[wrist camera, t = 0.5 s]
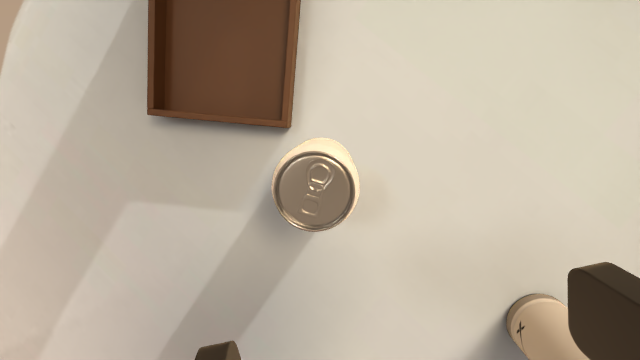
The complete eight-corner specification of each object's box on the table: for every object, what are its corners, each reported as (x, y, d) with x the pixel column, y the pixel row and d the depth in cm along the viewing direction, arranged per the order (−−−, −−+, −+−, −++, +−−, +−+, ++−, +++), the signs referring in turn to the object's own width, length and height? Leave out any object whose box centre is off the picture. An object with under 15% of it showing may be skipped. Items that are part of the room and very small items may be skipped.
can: (361, 147, 35) (374, 160, 24) (342, 208, 36) (345, 249, 25) (299, 129, 35) (281, 132, 23) (282, 190, 36) (256, 222, 25)
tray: (164, -60, 33) (149, -77, 30) (304, -49, 33) (301, -65, 30) (161, 115, 36) (146, 114, 33) (290, 127, 35) (287, 127, 33)
